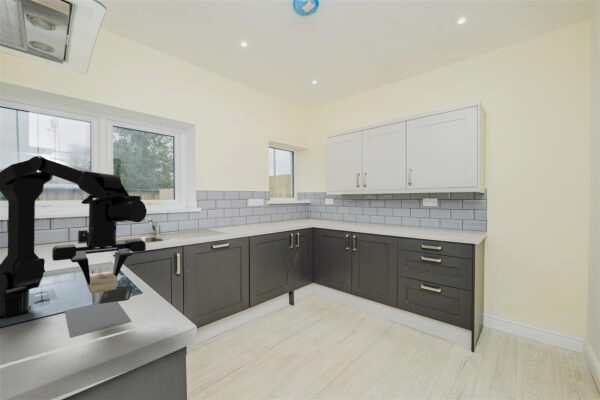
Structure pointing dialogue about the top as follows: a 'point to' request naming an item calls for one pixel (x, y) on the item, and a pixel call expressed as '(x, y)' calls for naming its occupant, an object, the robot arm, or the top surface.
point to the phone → (116, 294)
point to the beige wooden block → (102, 282)
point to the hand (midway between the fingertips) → (101, 282)
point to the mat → (95, 318)
